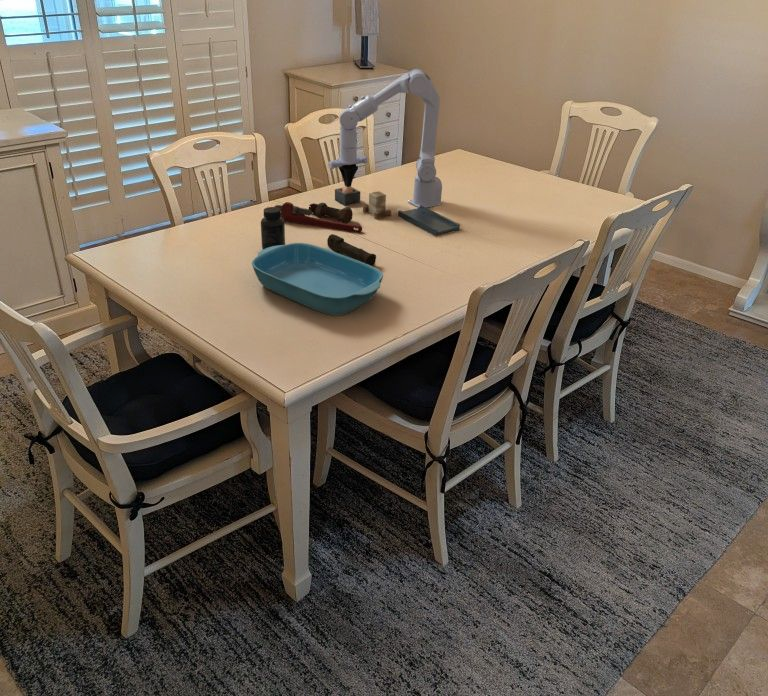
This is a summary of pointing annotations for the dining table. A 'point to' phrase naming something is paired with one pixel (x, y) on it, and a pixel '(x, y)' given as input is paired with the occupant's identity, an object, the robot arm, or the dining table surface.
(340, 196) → the button housing
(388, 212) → the socket
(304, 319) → the dining table surface
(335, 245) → the hand tool
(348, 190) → the release button
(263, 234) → the supplement bottle
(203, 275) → the dining table surface
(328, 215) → the bolt
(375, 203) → the peg
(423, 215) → the tray
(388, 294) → the dining table surface
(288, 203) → the pipe wrench
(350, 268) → the casserole dish
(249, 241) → the dining table surface
